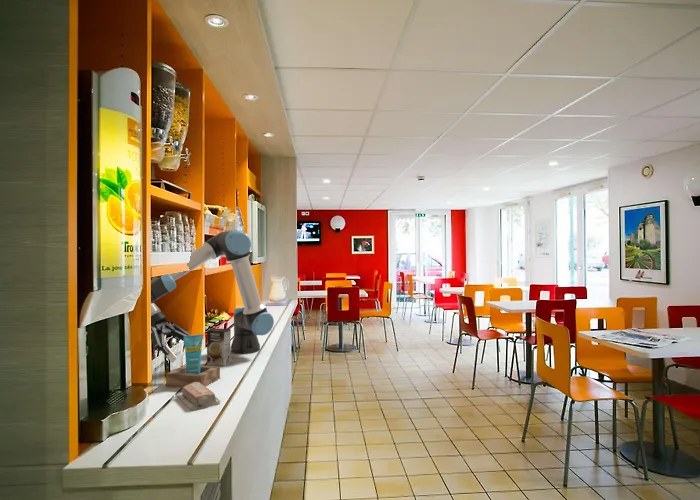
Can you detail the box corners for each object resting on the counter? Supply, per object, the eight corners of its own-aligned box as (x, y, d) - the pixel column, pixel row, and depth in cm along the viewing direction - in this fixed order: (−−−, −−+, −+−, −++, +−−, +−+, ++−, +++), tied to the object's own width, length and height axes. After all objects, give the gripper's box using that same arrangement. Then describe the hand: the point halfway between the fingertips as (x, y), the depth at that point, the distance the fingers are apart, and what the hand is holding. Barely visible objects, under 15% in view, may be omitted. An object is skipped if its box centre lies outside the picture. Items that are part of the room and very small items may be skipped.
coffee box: (206, 365, 193) (206, 330, 193) (214, 361, 199) (213, 327, 199) (224, 366, 190) (223, 331, 190) (231, 362, 197) (230, 328, 197)
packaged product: (221, 391, 144) (191, 397, 138) (221, 405, 144) (192, 412, 138) (203, 378, 158) (176, 384, 152) (203, 391, 158) (176, 397, 152)
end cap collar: (187, 376, 176) (187, 364, 176) (220, 378, 172) (219, 366, 172) (165, 386, 162) (165, 373, 162) (201, 389, 159) (200, 376, 159)
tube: (184, 385, 163) (184, 337, 163) (182, 382, 167) (182, 334, 167) (204, 382, 167) (204, 334, 167) (201, 379, 171) (201, 332, 171)
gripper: (167, 318, 184) (197, 354, 180) (124, 329, 160) (158, 370, 156) (177, 306, 183) (208, 342, 179) (136, 315, 158) (171, 357, 155)
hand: (185, 355), depth 168 cm, fingers open, 13 cm apart
